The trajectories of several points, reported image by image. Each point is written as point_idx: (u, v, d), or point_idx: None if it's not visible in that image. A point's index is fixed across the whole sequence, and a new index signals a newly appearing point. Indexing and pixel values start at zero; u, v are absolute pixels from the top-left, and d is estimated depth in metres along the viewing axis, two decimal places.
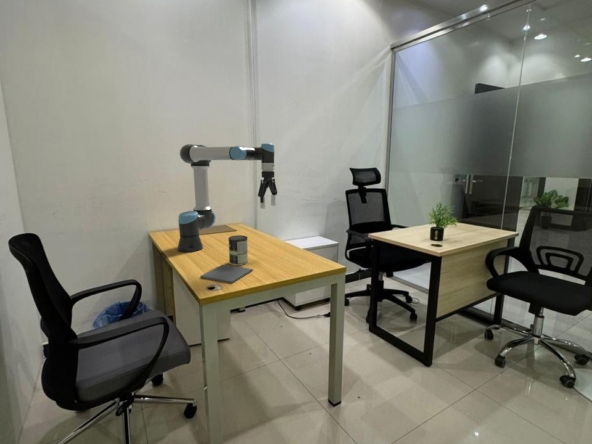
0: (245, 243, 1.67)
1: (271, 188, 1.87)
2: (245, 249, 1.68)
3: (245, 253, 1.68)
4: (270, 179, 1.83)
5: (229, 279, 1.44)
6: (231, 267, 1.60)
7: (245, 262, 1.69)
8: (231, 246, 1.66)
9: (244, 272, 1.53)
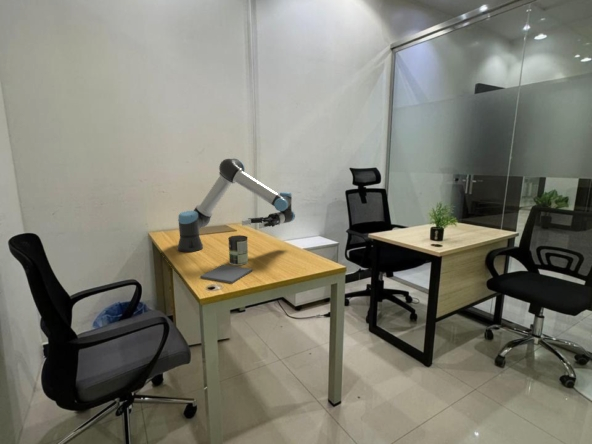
0: (245, 243, 1.67)
1: (259, 221, 1.86)
2: (245, 249, 1.68)
3: (245, 253, 1.68)
4: None
5: (229, 279, 1.44)
6: (231, 267, 1.60)
7: (245, 262, 1.69)
8: (231, 246, 1.66)
9: (244, 272, 1.53)
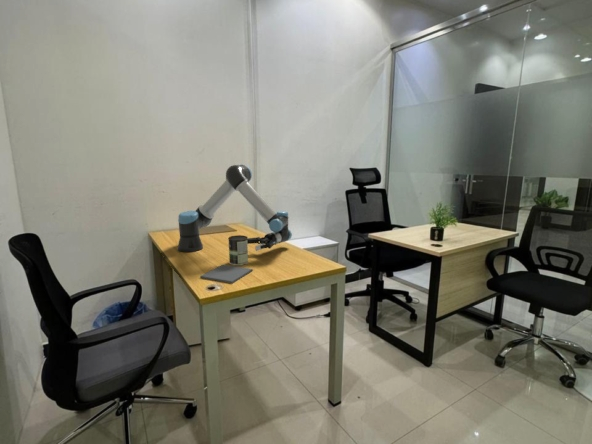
0: (245, 243, 1.67)
1: (255, 241, 1.85)
2: (245, 249, 1.68)
3: (245, 253, 1.68)
4: None
5: (229, 279, 1.44)
6: (231, 267, 1.60)
7: (245, 262, 1.69)
8: (231, 246, 1.66)
9: (244, 272, 1.53)
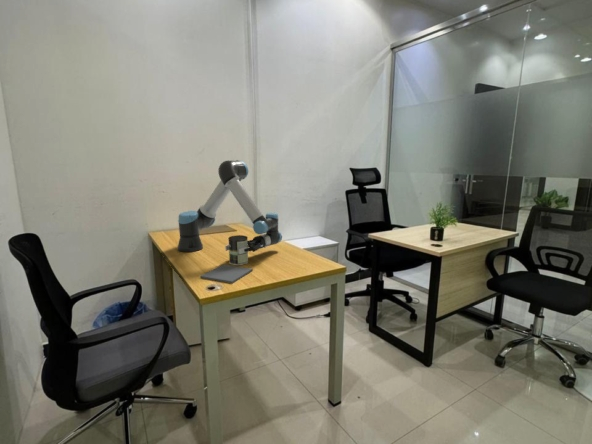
0: (245, 243, 1.67)
1: None
2: None
3: (245, 253, 1.68)
4: None
5: (229, 279, 1.44)
6: (231, 267, 1.60)
7: (245, 262, 1.69)
8: (231, 246, 1.66)
9: (244, 272, 1.53)
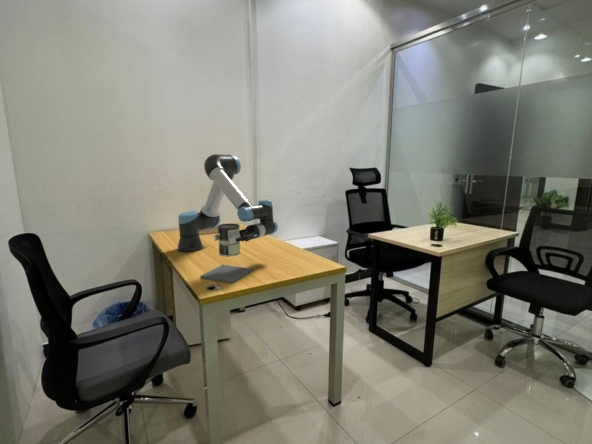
0: (237, 232, 1.49)
1: None
2: None
3: (237, 243, 1.50)
4: None
5: (229, 279, 1.44)
6: (231, 267, 1.60)
7: (237, 253, 1.51)
8: (221, 235, 1.47)
9: (244, 272, 1.53)
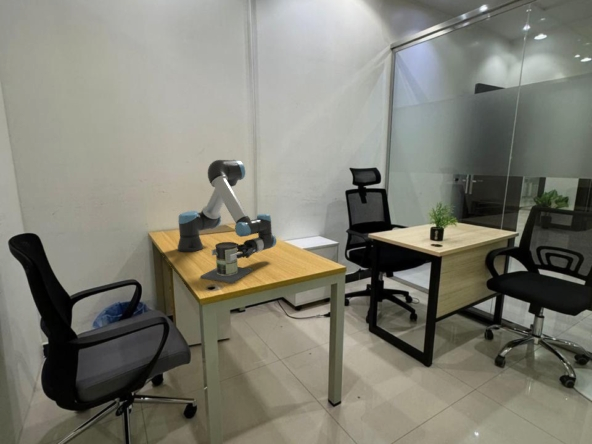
0: (234, 251, 1.49)
1: None
2: None
3: (234, 262, 1.50)
4: None
5: (229, 279, 1.44)
6: None
7: (234, 272, 1.50)
8: (218, 254, 1.47)
9: (244, 272, 1.53)
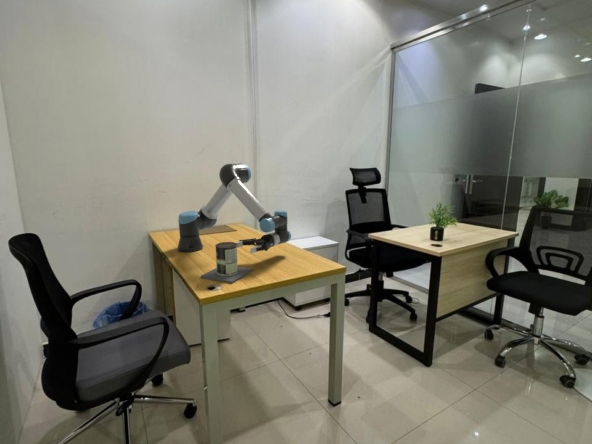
0: (234, 251, 1.49)
1: (251, 243, 1.70)
2: (234, 258, 1.49)
3: (234, 262, 1.50)
4: None
5: (229, 279, 1.44)
6: None
7: (234, 272, 1.50)
8: (218, 254, 1.47)
9: (244, 272, 1.53)
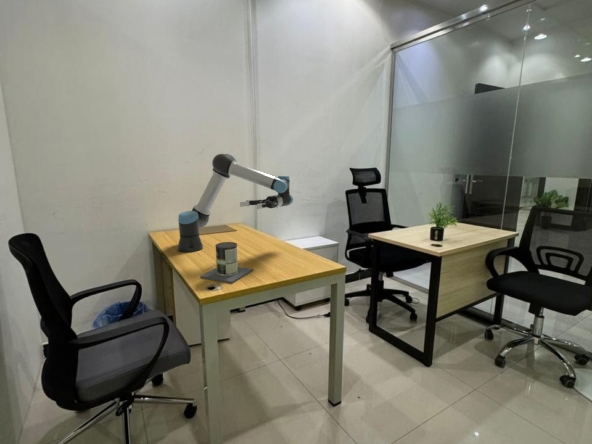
0: (234, 251, 1.49)
1: (257, 203, 1.87)
2: (234, 258, 1.49)
3: (234, 262, 1.50)
4: None
5: (229, 279, 1.44)
6: None
7: (234, 272, 1.50)
8: (218, 254, 1.47)
9: (244, 272, 1.53)
